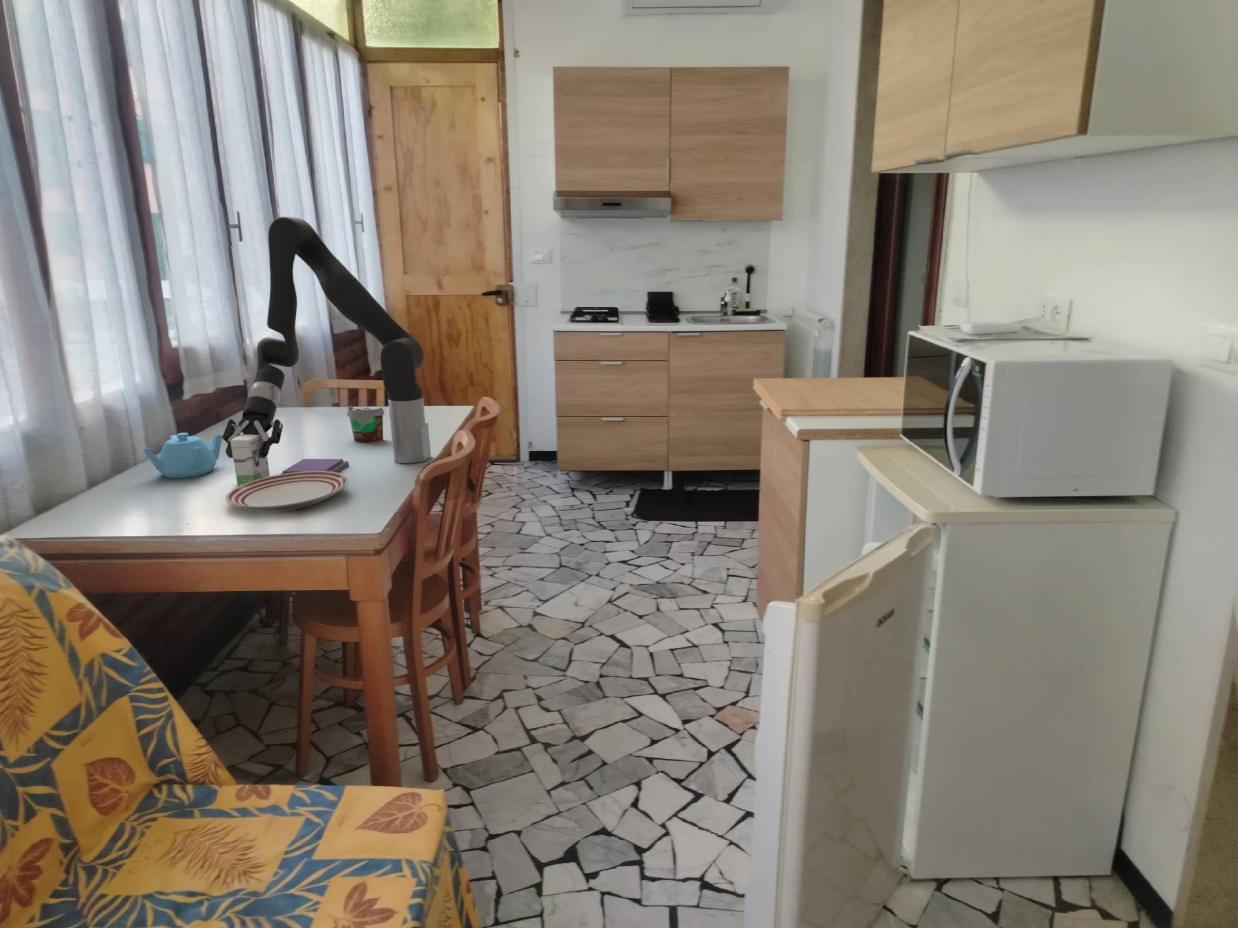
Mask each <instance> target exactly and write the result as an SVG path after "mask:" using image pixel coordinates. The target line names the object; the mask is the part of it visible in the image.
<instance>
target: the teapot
mask: <svg viewBox="0 0 1238 928" xmlns="http://www.w3.org/2000/svg"><path fill="white" fill-rule="evenodd" d="M222 436H223V434H215V435H214V437H213V439H212V442H211V444H210V446H209V445H208V444H207V443H206V442H205V441H204V440H203V439H202V438H201V437H200V436H194V435H190V436H189V433H188V432H180V433H177V434H174V435H169V439H168V440H167V441H165V443H164V444H163V447H162V449H161V451H160V452H159V456H157V455H156V454H155V453H154V452H153V451H152V450H151V448H150V447H146V448H142V451H143V452H144V454H145V455H146V457H147V459H149V461H150V462H151V464H152V465H153V466H154V468H155V469H156V470H157V471H158V472H159V473H161V475H163V476H164V477H165V478H167V479H188V478H189V479H190V478H195V477H200V476H203V475H206V474H209V473H210V472H212V471H213V470H214V468H215V466H216V465H217V460H219V457H220V450H221V445H222V441H223V438H222ZM208 472H209V473H208Z"/></svg>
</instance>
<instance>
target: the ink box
mask: <svg viewBox="0 0 1238 928" xmlns="http://www.w3.org/2000/svg"><path fill="white" fill-rule="evenodd" d="M262 442H264V440H263V438H262V436H261V435H260V434H259V435H253V434H243V433H242V434H240V436H238V437H236V438H234V439H232V440H231V448H232V454H233V458H232V459H233V465H234V472H235V476H236V483H237V485H238V486H240V485H243V484H245V483H248V482H251V481H254V480H258V479H261V478H265V477H270V475H271V474H270V467H269V459H268V455H267V456H266V457H265V458H261V457H260V456H259V451H260V447H261V444H262Z"/></svg>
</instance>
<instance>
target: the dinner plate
mask: <svg viewBox="0 0 1238 928" xmlns="http://www.w3.org/2000/svg"><path fill="white" fill-rule="evenodd" d="M348 483H349V478H348V477H347V475H345V474H342V473H341V472H338V473H336V472H330V471H304V472H294V473H286V474H281V473H280V474H274V475H271V476H270V475H269V476H268V477H265V478H261V479H258V480H254V481H251V482H248V483H245V484H243V485H238V486H236V487H235V488H233V489H231V490H230V491H229V492H227V494H226V495H225V501H226V502H227V504H230V505H232V506H236V507H240V508H244V509H249V510H257V511H264V512H265V511H266V512H267V511H268V512H271V511H272V512H274V511H277V512H279V511H289V510H290V511H291V510H297V509H302V508H305V507H309V506H313V505H316V504H318V503H321V502H323V501H324V500H327V499H329V498H331V497H332V496H334V495H336V494H337V493H339V492H341V491H342V490H343V489H345V488H346V487H347V485H348Z"/></svg>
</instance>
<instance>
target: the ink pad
mask: <svg viewBox="0 0 1238 928" xmlns="http://www.w3.org/2000/svg"><path fill="white" fill-rule="evenodd" d="M349 463H350V462H349V460H344V459H343V458H303V459H301V460H300V461H298V462H296V463H294V464H292V465H291V466H289V467H287V468H286V469H284V470H282V472H281V473H280V474H286V473H294V472H304V471H330V472H336V473H341V471H343V470H344V469H346V468H348V467H349Z"/></svg>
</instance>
